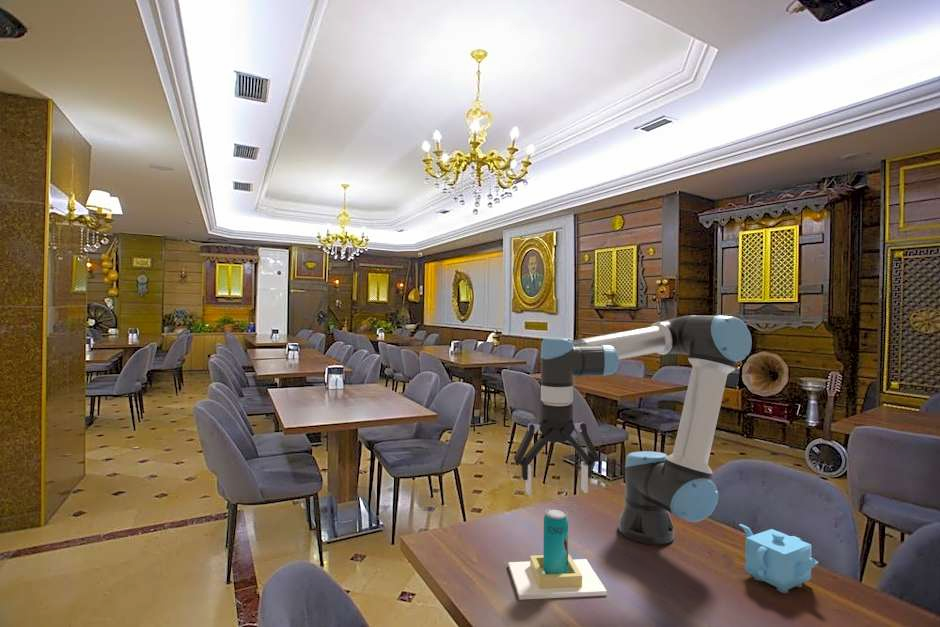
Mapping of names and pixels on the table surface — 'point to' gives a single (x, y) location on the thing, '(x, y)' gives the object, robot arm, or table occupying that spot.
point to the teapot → (778, 559)
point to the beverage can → (555, 542)
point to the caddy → (555, 580)
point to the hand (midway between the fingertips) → (556, 492)
